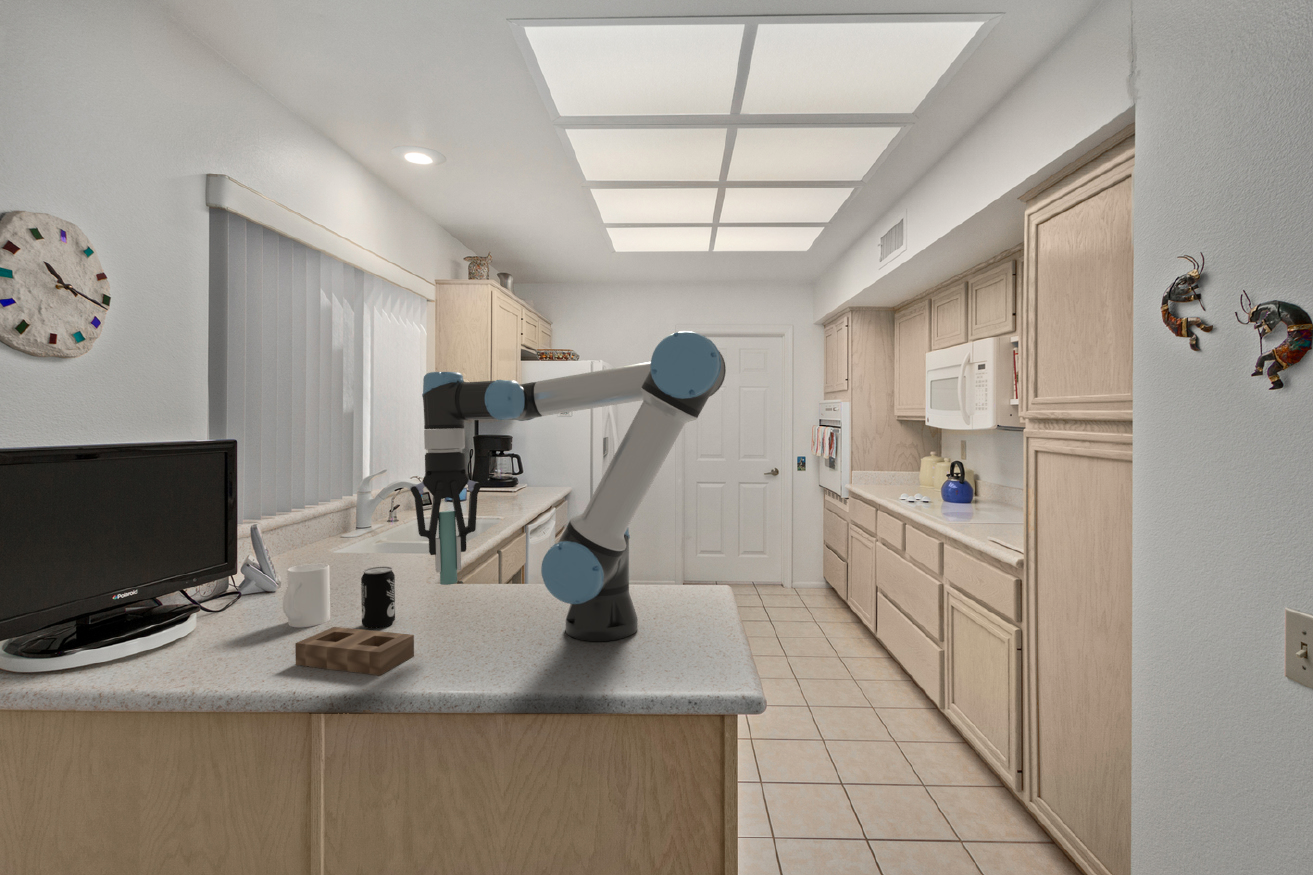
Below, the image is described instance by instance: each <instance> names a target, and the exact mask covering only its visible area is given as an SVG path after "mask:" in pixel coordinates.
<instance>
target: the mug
mask: <svg viewBox="0 0 1313 875" xmlns="http://www.w3.org/2000/svg"><path fill="white" fill-rule="evenodd" d="M286 572H287V573H286V574H287V586H286V589H285V592H284V594H283V598H282V610H283V613H284V615H285V616H286V617H287V620H288V622H287V624H288V626H289V627H292V628H309V627H315V626H320V625H323V624H325V623H326V622H328V621H330V619H331V598H330V597H331V594H330V592H331V591H330V587H331V586H330V565H329V564H328V563H320V562H319V563H318V562H316V563H304V564H300V565H299V564H298V565H295V566H291V567H289V568H288V569H287V570H286Z"/></svg>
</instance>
